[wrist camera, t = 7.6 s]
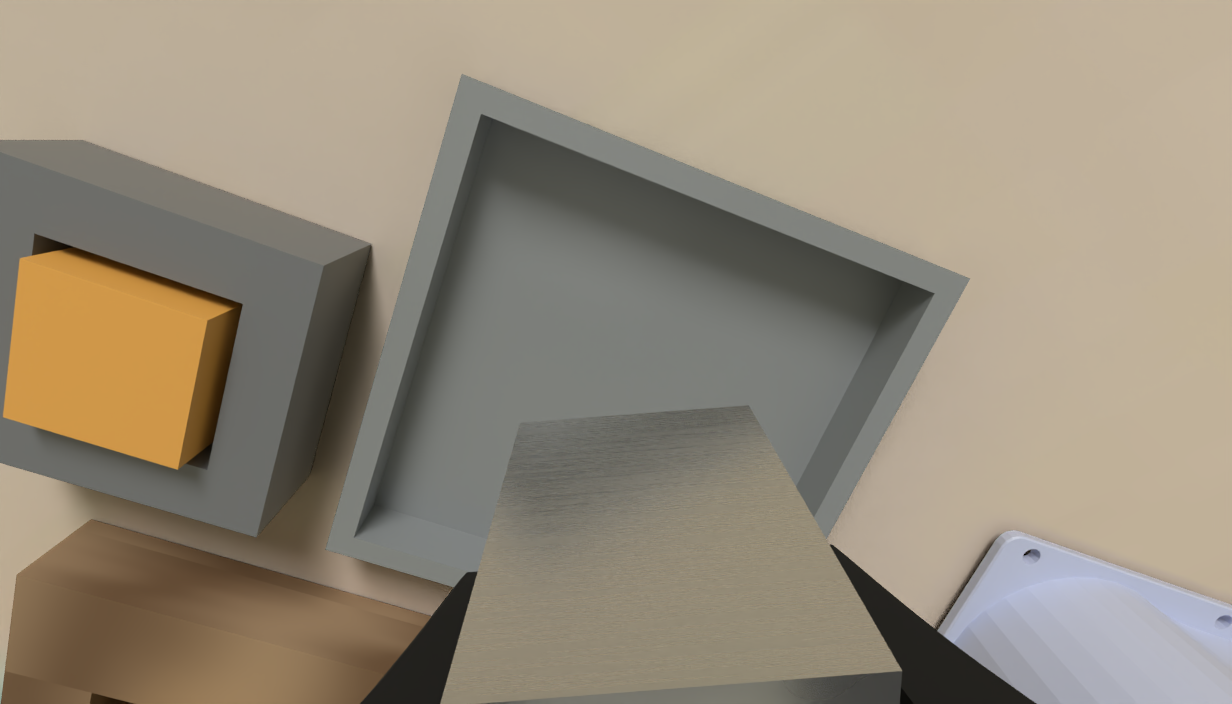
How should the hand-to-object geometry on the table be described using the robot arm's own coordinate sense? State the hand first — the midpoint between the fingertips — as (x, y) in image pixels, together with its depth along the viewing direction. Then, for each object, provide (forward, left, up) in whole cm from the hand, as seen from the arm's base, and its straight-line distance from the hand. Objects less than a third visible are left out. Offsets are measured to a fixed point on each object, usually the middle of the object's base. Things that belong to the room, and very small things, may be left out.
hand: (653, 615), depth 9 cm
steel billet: (0, 0, -3) cm, 3 cm away
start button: (+11, +2, -8) cm, 14 cm away
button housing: (+11, +2, -9) cm, 14 cm away
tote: (0, 0, -9) cm, 9 cm away
